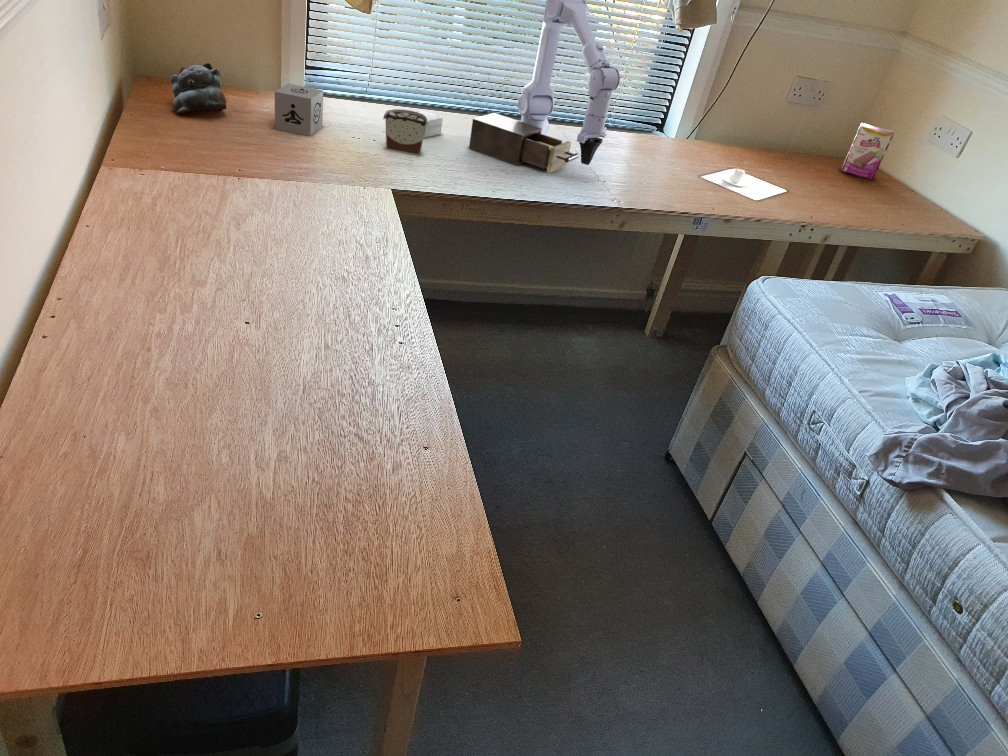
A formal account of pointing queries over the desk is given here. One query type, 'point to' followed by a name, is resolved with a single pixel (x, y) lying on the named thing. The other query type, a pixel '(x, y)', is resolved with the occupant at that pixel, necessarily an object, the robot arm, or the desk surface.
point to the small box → (432, 124)
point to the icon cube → (298, 109)
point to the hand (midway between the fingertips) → (585, 163)
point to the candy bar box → (867, 151)
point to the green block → (548, 151)
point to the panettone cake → (405, 130)
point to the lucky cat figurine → (198, 89)
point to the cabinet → (500, 136)
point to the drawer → (546, 152)
